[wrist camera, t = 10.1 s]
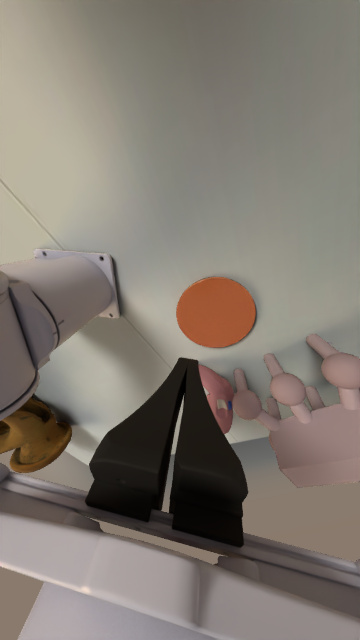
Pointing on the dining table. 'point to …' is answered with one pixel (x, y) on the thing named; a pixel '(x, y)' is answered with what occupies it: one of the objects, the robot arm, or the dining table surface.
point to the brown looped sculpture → (33, 437)
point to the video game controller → (218, 397)
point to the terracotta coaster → (216, 312)
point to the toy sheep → (310, 419)
